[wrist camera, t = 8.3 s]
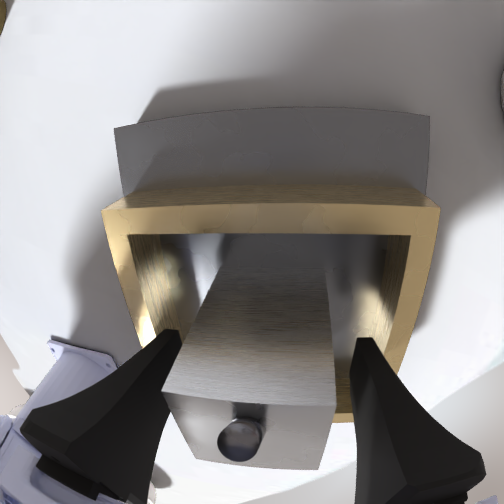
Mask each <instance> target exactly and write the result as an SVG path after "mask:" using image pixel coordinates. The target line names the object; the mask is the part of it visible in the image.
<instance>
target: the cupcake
mask: <svg viewBox="0 0 504 504" xmlns="http://www.w3.org/2000/svg"><path fill="white" fill-rule="evenodd" d="M501 102H502V108H503V112H504V70H503V73H502V76H501Z"/></svg>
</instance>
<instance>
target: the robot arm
mask: <svg viewBox="0 0 504 504" xmlns="http://www.w3.org/2000/svg"><path fill="white" fill-rule="evenodd" d="M47 344H48V346H49V348H50V350H51V352H52V354H53V355H54V357H55V359H56V360H57V362H56V363H55V364H54V366H53V367H52V368H51V369H50V371H49V372H48V373H47V375H46V376H45V377H44V379H43V380H42V381H41V383H40V384H39V385H38V387H37V388H36V390H35V391H34V392H33V394H32V395H31V396H30V398H29V399H28V401H27V402H26V404H25V405H24V406H23V408H22V409H21V411H20V412H19V414H18V415H17V417H15V418H10V417H9V416H8V415H4V416H3V415H0V504H125V503H127V504H147V501H148V493H149V486H150V480H151V475H152V470H153V465H154V461H155V457H156V453H157V449H158V445H159V442H160V438H161V435H162V431H163V429H164V426H165V423H166V421H167V419H168V416H169V414H170V412H171V411H170V409H169V407H168V404H167V402H166V400H165V398H164V396H163V394H162V392H161V390H162V388H163V386H164V384H165V382H166V379H167V377H168V375H169V373H170V371H171V369H172V366H173V364H174V362H175V360H176V358H177V356H178V354H179V351H180V349H181V347H182V341H181V337H180V334H179V330H174V329H164V330H163V331H162V332H161V333H160V334H158V335H157V336H156V337H155V338H154V339H153V340H152V341H150V342H149V343H148V344H147V345H146V346H145V347H144V348H142V349H141V350H140V351H139V352H138V353H137V354H135V355H134V356H133V357H132V358H131V359H129V360H128V361H127V362H125V363H124V364H123V365H122V366H120V367H119V368H118V369H117V367H116V365H115V363H114V361H113V359H112V357H111V356H109V355H107V354H104V353H99V352H95V351H91V350H87V349H83V348H79V347H75V346H71V345H68V344H64V343H60V342H57V341H53V340H49V341H48V342H47ZM349 377H350V397H351V404H352V411H353V418H354V425H355V433H356V442H357V475H356V477H357V478H356V493H355V504H464V502H465V501H467V499H468V496H467V491H469V490H470V489H472V488H473V487H474V486H475V485H477V484H478V483H479V482H481V481H482V480H483V479H484V477H485V476H486V471H485V466H484V462H483V459H482V456H481V453H480V452H478V451H477V450H475V449H473V448H472V447H470V446H468V445H467V444H465V443H464V442H462V441H461V440H459V439H458V438H456V437H455V436H454V435H453V434H451V433H450V432H448V431H447V430H446V429H445V428H444V427H443V426H442V425H441V424H439V423H438V422H437V421H436V420H435V419H434V418H433V417H431V415H430V414H429V413H428V412H427V411H426V410H425V409H424V408H423V407H422V406H421V405H420V404H419V403H418V402H417V400H416V399H415V398H414V397H413V396H412V395H411V393H410V392H409V391H408V390H407V388H406V387H405V386H404V384H403V383H402V382H401V380H400V379H399V378H398V376H397V375H396V373H395V372H394V370H393V369H392V368H391V366H390V365H389V363H388V361H387V360H386V358H385V357H384V355H383V354H382V352H381V350H380V349H379V347H378V345H377V344H376V342H375V340H374V339H373V338H372V337H357V339H356V344H355V349H354V354H353V358H352V362H351V367H350V371H349ZM118 500H119V501H118ZM120 501H121V502H120ZM123 502H124V503H123ZM474 504H498V501H497V496H496V495H494V496H491V497H489V498H487V499H484V500H482V501H479V502H477V503H474Z"/></svg>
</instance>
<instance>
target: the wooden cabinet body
mask: <svg viewBox="0 0 504 504" xmlns="http://www.w3.org/2000/svg"><path fill="white" fill-rule="evenodd" d="M429 133H430V116H425V115H418V114H411V113H402V112H393V111H383V110H372V109H357V108H336V107H276V108H255V109H240V110H228V111H217V112H208V113H200V114H192V115H184V116H177V117H171V118H165V119H159V120H153V121H147V122H142V123H137V124H132V125H127V126H123V127H118V128H114V135H115V143H116V150H117V157H118V164H119V170H120V177H121V183H122V188H123V194H124V197H123V198H121V199H120V200H118V201H116V202H114V203H113V204H111V205H109V206H108V207H106V208H105V209H103V210H101V213H102V217H103V222H104V226H105V230H106V234H107V238H108V242H109V246H110V250H111V254H112V257H113V261H114V265H115V268H116V272H117V275H118V278H119V282H120V285H121V288H122V291H123V295H124V298H125V301H126V304H127V307H128V310H129V313H130V316H131V318H132V321H133V324H134V327H135V330H136V332H137V335H138V338H139V340H140V343H141V346H142V348H144V347H145V346H146V345H147V344H148V343H149V342H150V341H152V340H153V339H154V338H155V337H156V336H157V335H158V334H160V333H161V332H162V331H163V330H164V329H174V330H179V334H180V337H181V341H182V345H183V343H184V341H185V339H186V337H187V334H188V332H189V330H190V328H191V326H192V324H193V322H194V320H195V318H196V316H197V313H198V311H199V309H200V307H201V305H202V303H203V301H204V299H205V297H206V295H207V293H208V291H209V289H210V287H211V284H212V282H213V280H214V278H215V276H216V274H217V272H218V270H219V268H220V267H261V268H325V275H326V283H327V292H328V301H329V310H330V320H331V331H332V342H333V355H334V369H335V385H336V409H335V413H334V417H333V421H332V423H345V422H354V418H353V411H352V404H351V397H350V377H349V371H350V367H351V362H352V358H353V354H354V349H355V344H356V339H357V337H372V338H373V339H374V340H375V342H376V344H377V345H378V347H379V349H380V350H381V352H382V354H383V355H384V357H385V358H386V360H387V361H388V363H389V365H390V366H391V368H392V369H393V370H394V372H395V373H396V375H397V373H398V371H399V368H400V366H401V363H402V360H403V357H404V355H405V352H406V349H407V346H408V343H409V340H410V337H411V334H412V331H413V328H414V325H415V322H416V319H417V315H418V312H419V308H420V305H421V301H422V298H423V294H424V290H425V286H426V282H427V278H428V274H429V270H430V265H431V260H432V256H433V251H434V246H435V241H436V235H437V229H438V223H439V217H440V210H441V208H440V207H439V206H438V205H436V204H435V203H434V202H433V201H431V200H430V199H429V198H428V197H426V196H425V195H426V185H427V173H428V158H429Z"/></svg>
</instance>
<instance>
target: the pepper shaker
mask: <svg viewBox="0 0 504 504" xmlns="http://www.w3.org/2000/svg"><path fill="white" fill-rule="evenodd" d="M5 18H6V3H5V1H4V0H0V35H1V32H2V30H3V26H4V22H5Z"/></svg>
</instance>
